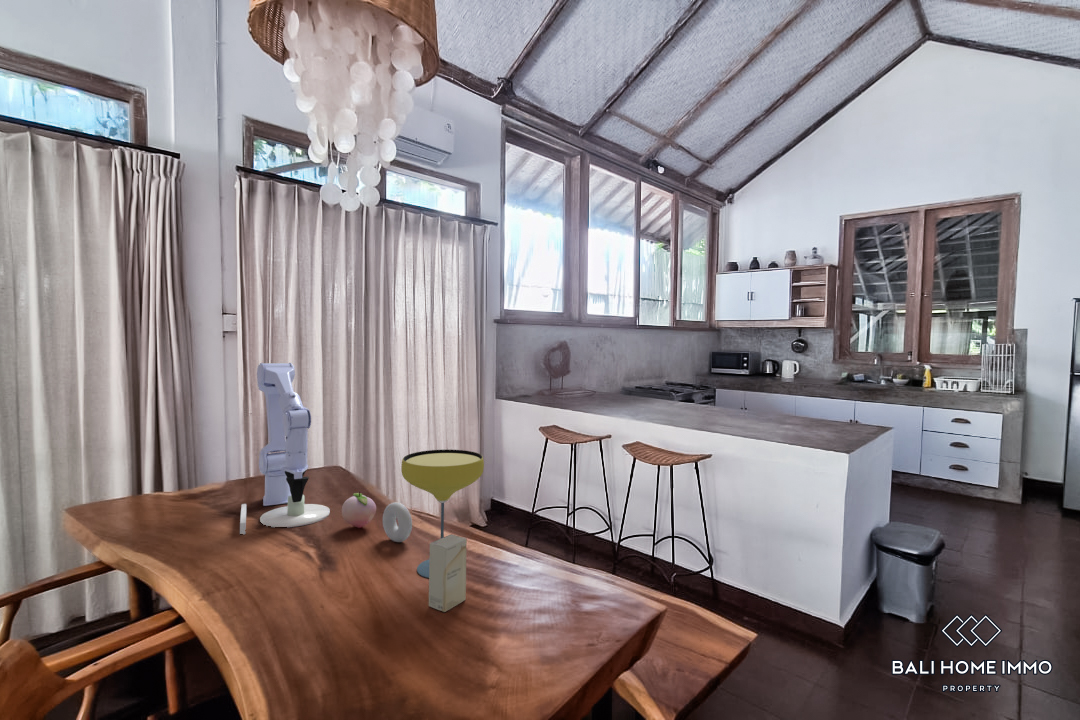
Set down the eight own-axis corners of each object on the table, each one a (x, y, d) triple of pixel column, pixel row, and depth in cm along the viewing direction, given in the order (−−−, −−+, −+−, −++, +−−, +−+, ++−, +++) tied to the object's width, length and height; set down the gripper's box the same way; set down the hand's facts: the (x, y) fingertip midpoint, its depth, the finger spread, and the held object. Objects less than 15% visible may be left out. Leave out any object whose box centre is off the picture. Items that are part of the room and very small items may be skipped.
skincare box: (444, 613, 90) (445, 548, 90) (427, 606, 93) (428, 543, 92) (466, 599, 96) (467, 537, 95) (449, 593, 98) (450, 533, 98)
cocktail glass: (395, 558, 114) (396, 451, 113) (470, 547, 121) (471, 447, 120) (406, 594, 97) (407, 469, 97) (492, 578, 104) (494, 463, 104)
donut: (379, 538, 125) (379, 500, 125) (390, 534, 128) (391, 497, 128) (403, 548, 119) (404, 508, 119) (414, 544, 122) (415, 504, 122)
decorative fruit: (335, 527, 132) (335, 491, 132) (363, 520, 138) (364, 485, 138) (351, 537, 126) (352, 498, 126) (380, 529, 132) (381, 492, 132)
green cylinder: (286, 512, 141) (287, 495, 141) (303, 510, 144) (303, 493, 144) (287, 517, 138) (288, 499, 138) (305, 514, 140) (305, 497, 140)
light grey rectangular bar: (241, 514, 142) (241, 504, 142) (246, 513, 142) (246, 503, 142) (239, 534, 126) (240, 523, 126) (245, 534, 127) (245, 522, 127)
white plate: (259, 512, 144) (259, 509, 144) (325, 503, 153) (325, 500, 153) (260, 531, 128) (260, 528, 128) (333, 521, 137) (333, 518, 137)
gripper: (279, 447, 145) (279, 493, 145) (282, 457, 132) (281, 507, 132) (306, 445, 148) (305, 490, 148) (310, 455, 136) (310, 503, 136)
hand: (296, 497), depth 141 cm, fingers open, 7 cm apart
